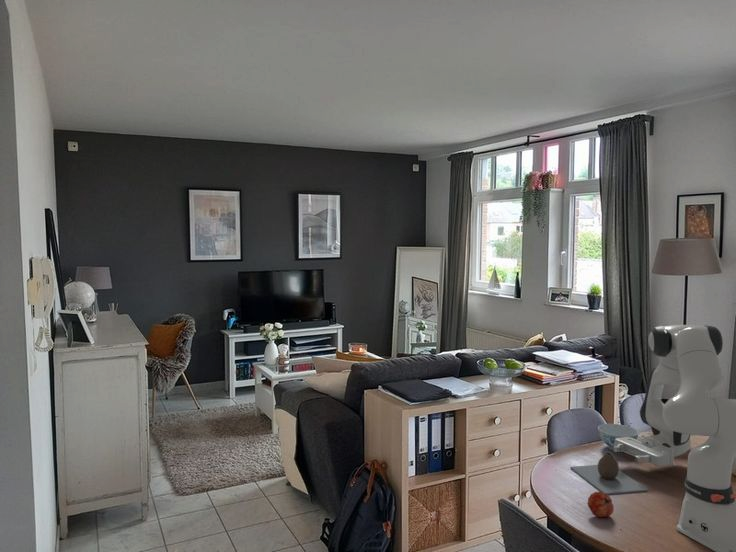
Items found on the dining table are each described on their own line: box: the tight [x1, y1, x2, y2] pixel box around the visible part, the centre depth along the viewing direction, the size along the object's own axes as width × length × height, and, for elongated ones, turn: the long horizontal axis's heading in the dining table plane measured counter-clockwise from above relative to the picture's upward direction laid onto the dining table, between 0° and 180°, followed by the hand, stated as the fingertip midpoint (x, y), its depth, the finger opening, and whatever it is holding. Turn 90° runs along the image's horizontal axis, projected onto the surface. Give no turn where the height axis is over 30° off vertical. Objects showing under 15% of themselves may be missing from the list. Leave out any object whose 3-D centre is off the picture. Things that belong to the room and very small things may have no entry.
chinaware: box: [597, 423, 639, 453], centre depth 235 cm, size 15×15×8 cm
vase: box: [597, 451, 620, 480], centre depth 206 cm, size 7×7×9 cm
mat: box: [570, 464, 649, 496], centre depth 206 cm, size 22×16×1 cm
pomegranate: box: [587, 491, 615, 518], centre depth 180 cm, size 7×7×10 cm
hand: (625, 454), depth 209 cm, fingers open, 8 cm apart
